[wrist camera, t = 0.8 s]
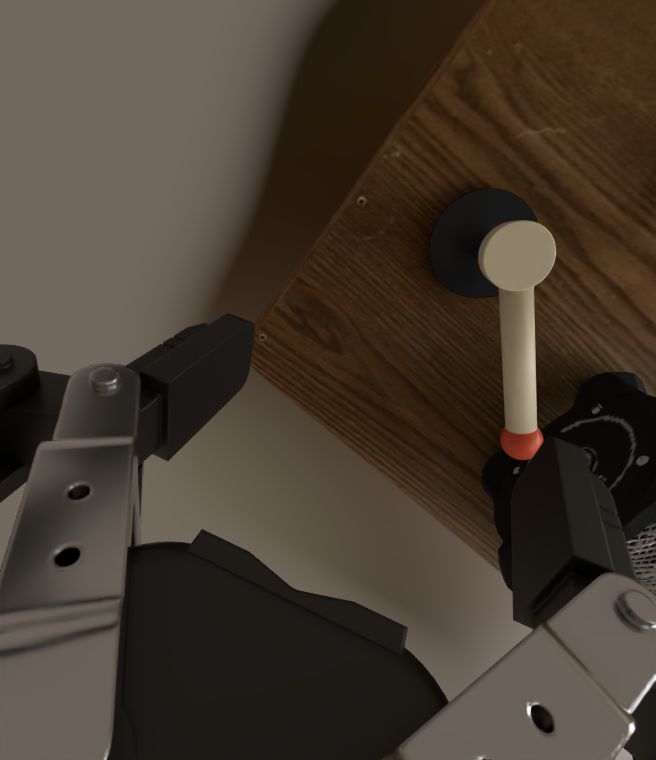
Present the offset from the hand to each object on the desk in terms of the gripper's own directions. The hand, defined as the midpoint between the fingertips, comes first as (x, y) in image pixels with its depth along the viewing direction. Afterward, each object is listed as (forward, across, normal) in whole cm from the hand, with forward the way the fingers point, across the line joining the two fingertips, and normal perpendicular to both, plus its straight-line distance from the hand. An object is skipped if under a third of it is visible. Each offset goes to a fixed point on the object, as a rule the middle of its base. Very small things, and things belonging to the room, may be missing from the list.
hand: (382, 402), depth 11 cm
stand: (+27, -2, +1) cm, 27 cm away
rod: (+14, -5, +3) cm, 15 cm away
